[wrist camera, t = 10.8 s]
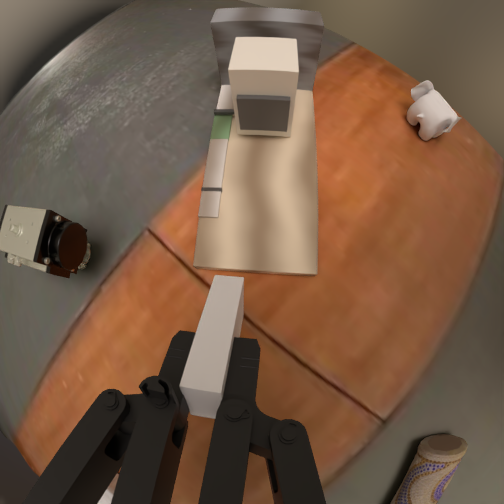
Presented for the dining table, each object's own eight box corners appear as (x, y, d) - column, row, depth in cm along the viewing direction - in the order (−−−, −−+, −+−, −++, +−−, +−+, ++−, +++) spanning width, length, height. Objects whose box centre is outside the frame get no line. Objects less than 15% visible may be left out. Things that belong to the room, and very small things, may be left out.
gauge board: (309, 80, 33) (320, 12, 21) (314, 276, 27) (353, 248, 15) (226, 76, 34) (216, 9, 21) (196, 268, 28) (148, 235, 15)
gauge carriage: (290, 93, 30) (295, 32, 20) (290, 141, 28) (299, 76, 19) (220, 91, 31) (209, 32, 21) (211, 138, 29) (192, 75, 19)
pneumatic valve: (54, 230, 30) (-7, 200, 18) (118, 242, 29) (52, 206, 17) (45, 270, 28) (-20, 251, 17) (108, 289, 28) (35, 274, 16)
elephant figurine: (455, 140, 30) (477, 115, 23) (421, 153, 30) (446, 125, 23) (426, 103, 32) (444, 76, 25) (389, 112, 31) (407, 80, 25)
